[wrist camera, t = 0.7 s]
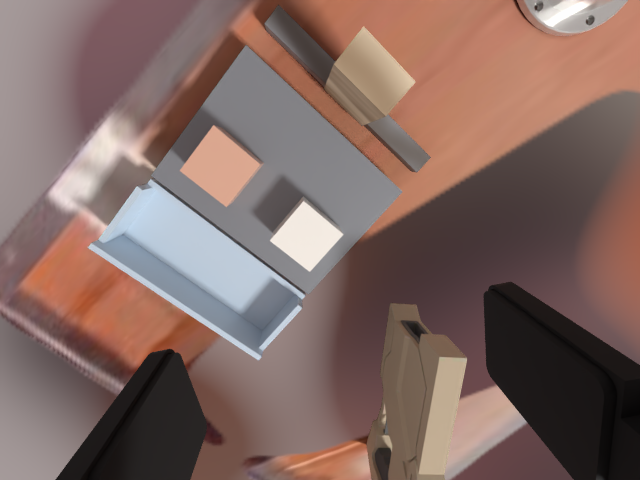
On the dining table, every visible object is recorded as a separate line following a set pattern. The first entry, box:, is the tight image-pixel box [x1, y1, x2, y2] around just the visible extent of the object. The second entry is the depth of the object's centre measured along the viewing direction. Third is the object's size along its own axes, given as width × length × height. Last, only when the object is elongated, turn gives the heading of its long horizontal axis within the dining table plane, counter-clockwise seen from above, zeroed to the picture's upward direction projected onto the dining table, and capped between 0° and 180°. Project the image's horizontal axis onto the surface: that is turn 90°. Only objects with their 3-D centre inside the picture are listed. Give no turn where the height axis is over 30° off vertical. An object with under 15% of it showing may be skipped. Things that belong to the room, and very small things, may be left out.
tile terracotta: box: [180, 125, 264, 207], centre depth 29 cm, size 5×5×3 cm
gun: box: [367, 303, 467, 480], centre depth 35 cm, size 24×3×15 cm, turn 174°
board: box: [151, 45, 402, 294], centre depth 32 cm, size 15×20×2 cm
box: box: [88, 178, 306, 360], centre depth 33 cm, size 8×20×5 cm, turn 49°
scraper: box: [265, 5, 431, 172], centre depth 27 cm, size 3×20×11 cm, turn 49°
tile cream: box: [270, 197, 344, 272], centre depth 31 cm, size 5×5×3 cm
